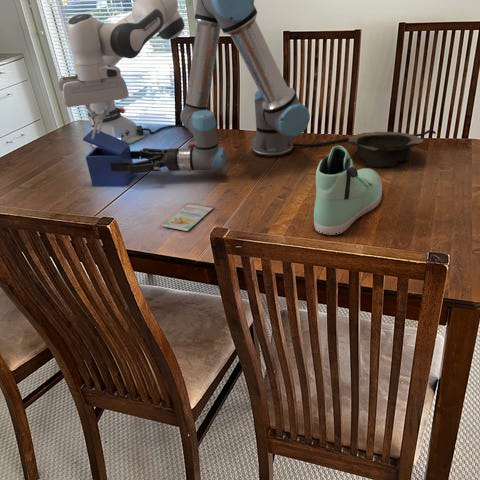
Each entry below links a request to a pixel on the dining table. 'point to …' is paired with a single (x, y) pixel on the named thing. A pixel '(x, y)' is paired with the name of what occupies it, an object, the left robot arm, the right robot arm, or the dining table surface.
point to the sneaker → (343, 192)
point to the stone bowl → (384, 147)
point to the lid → (105, 138)
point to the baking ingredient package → (187, 217)
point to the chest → (108, 167)
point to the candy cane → (191, 145)
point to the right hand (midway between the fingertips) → (116, 161)
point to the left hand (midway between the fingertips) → (100, 115)
